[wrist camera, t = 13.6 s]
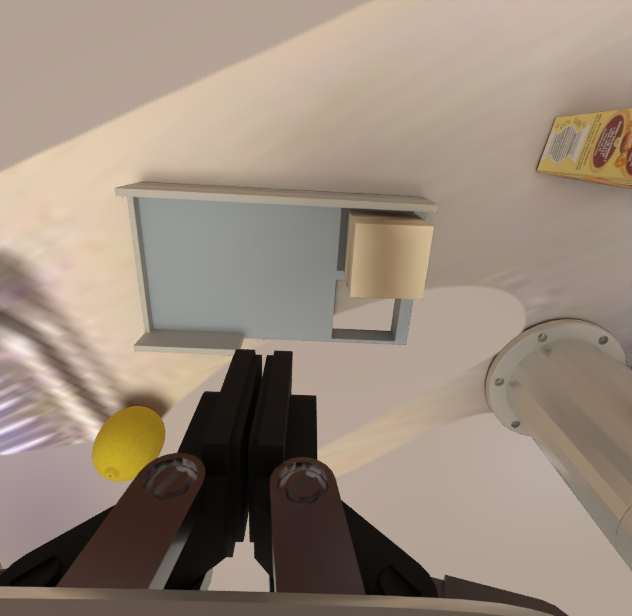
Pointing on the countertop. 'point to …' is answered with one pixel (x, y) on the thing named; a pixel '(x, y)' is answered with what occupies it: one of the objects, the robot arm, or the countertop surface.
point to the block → (387, 254)
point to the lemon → (128, 443)
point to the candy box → (591, 148)
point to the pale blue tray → (247, 264)
